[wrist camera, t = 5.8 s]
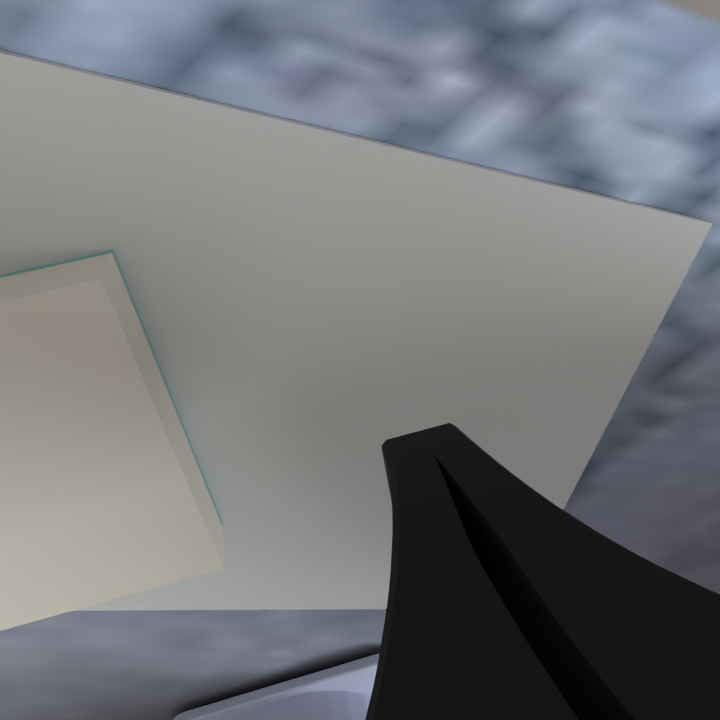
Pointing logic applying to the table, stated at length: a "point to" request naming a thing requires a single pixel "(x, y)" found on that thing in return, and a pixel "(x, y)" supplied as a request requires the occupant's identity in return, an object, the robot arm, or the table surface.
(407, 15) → the table surface
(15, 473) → the tile
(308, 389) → the mat
